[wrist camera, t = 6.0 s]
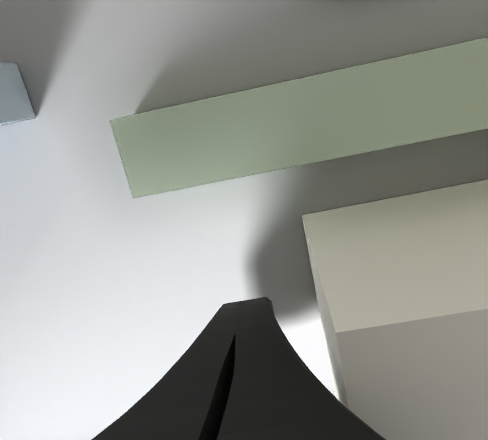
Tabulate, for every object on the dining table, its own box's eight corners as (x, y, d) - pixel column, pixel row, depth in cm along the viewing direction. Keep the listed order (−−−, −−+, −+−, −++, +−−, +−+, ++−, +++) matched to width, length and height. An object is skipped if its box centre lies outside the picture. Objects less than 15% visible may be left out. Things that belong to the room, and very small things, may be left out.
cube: (332, 381, 12) (380, 589, 7) (301, 215, 10) (336, 333, 5) (519, 354, 11) (712, 558, 6) (516, 174, 10) (766, 263, 5)
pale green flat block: (235, 478, 13) (232, 527, 11) (132, 114, 9) (110, 120, 8) (596, 436, 12) (642, 484, 10) (624, 7, 8) (699, -9, 7)
